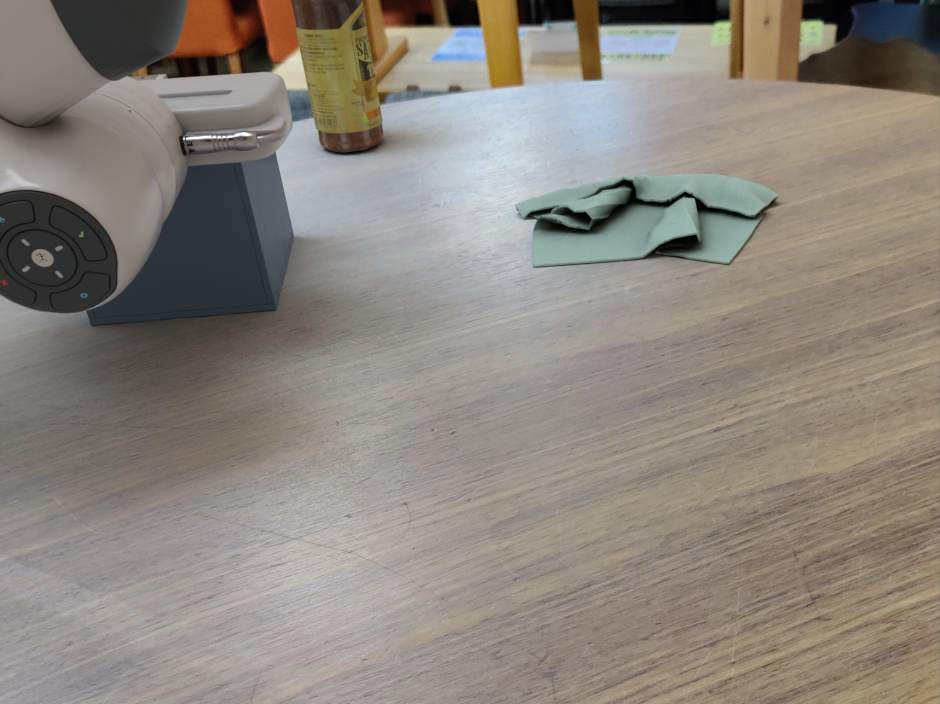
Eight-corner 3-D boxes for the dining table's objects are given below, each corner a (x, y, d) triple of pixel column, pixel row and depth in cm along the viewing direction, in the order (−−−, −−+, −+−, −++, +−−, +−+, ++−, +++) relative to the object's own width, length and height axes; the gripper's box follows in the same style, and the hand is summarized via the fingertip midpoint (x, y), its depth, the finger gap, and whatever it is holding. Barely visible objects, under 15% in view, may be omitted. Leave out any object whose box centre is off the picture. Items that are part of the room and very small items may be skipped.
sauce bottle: (389, 150, 112) (349, -97, 99) (321, 158, 111) (272, -90, 98) (382, 129, 117) (343, -109, 104) (317, 137, 116) (269, -103, 103)
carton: (276, 310, 86) (237, 148, 79) (90, 325, 85) (33, 163, 78) (294, 235, 97) (261, 87, 90) (129, 248, 96) (82, 99, 89)
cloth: (806, 194, 100) (808, 164, 99) (691, 298, 86) (691, 265, 84) (593, 162, 108) (591, 134, 106) (454, 252, 93) (450, 221, 92)
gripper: (270, 86, 71) (291, 27, 82) (-88, 111, 70) (-19, 48, 80) (293, 192, 76) (310, 124, 86) (-45, 218, 74) (15, 145, 84)
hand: (149, 87), depth 83 cm, fingers closed, pressing on flap
